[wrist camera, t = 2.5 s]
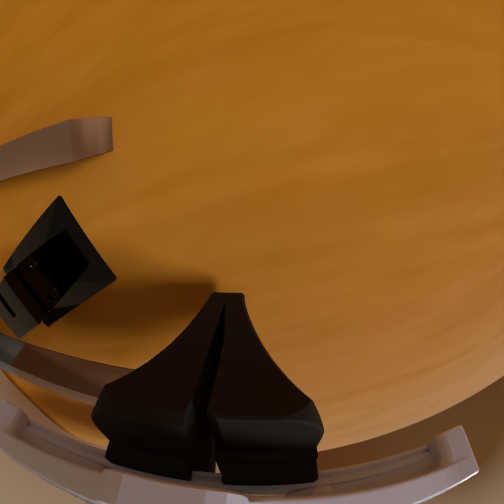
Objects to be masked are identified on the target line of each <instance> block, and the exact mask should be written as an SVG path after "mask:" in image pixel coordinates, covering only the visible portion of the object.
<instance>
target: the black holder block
mask: <svg viewBox="0 0 504 504" xmlns="http://www.w3.org/2000/svg"><path fill="white" fill-rule="evenodd" d="M3 269H4V271H5V273H6V274H7V275H6V276H5V277H4V278H3V280H2V281H1V283H0V316H1V318H2V319H3V320H4V321H5V323H6V324H7V325H8V326H9V328H10V329H11V330H12V331H13V333H14V334H15V335H16V336H17V337H18V339H21V338H22V337H24V336H25V335H26V334H27V333H29V332H30V331H31V330H32V329H34V328H35V327H36V326H38V325H39V324H40V323H41V321H43V323H44V324H45V325H46V326H48V327H49V326H50V325H51V324H53V323H54V322H56V321H57V320H58V319H60V318H61V317H63V316H64V315H65V314H67V313H68V312H70V311H71V310H72V309H74V308H75V307H77V306H78V305H80V304H81V303H83V302H84V301H86V300H87V299H88V298H90V297H91V296H93V295H94V294H96V293H97V292H99V291H100V290H102V289H103V288H105V287H106V286H108V285H109V284H111V283H112V282H114V281H116V276H115V275H114V273H113V272H112V271H111V269H110V268H109V267H108V265H107V264H106V263H105V261H104V260H103V259H102V257H101V256H100V255H99V253H98V252H97V250H96V249H95V248H94V246H93V245H92V243H91V242H90V240H89V239H88V237H87V236H86V235H85V233H84V232H83V230H82V229H81V227H80V225H79V224H78V222H77V221H76V219H75V218H74V216H73V215H72V213H71V211H70V210H69V208H68V207H67V205H66V203H65V202H64V200H63V198H62V197H61V196H58V197H57V198H56V199H55V200H54V201H53V202H52V204H51V205H50V206H49V207H48V208H47V209H46V211H45V212H44V213H43V214H42V215H41V217H40V218H39V219H38V220H37V222H36V223H35V224H34V225H33V227H32V228H31V229H30V231H29V232H28V233H27V234H26V236H25V237H24V238H23V240H22V241H21V243H20V244H19V245H18V247H17V248H16V250H15V251H14V253H13V254H12V255H11V257H10V258H9V260H8V261H7V263H6V265H5V266H4V268H3Z"/></svg>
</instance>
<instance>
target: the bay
mask: <svg viewBox="0 0 504 504" xmlns="http://www.w3.org/2000/svg"><path fill="white" fill-rule="evenodd" d="M112 150H113V143H112V123H111V117H99V118H82V119H70V120H67V121H64V122H60V123H57V124H54V125H51V126H49V127H46V128H43V129H40V130H37V131H35V132H32V133H30V134H27V135H25V136H22V137H20V138H17V139H15V140H13V141H10V142H8V143H6V144H4V145H2V146H0V181H1V180H4V179H7V178H11V177H14V176H17V175H21V174H24V173H28V172H32V171H36V170H39V169H43V168H48V167H52V166H56V165H61V164H65V163H70V162H74V161H77V160H81V159H84V158H87V157H91V156H94V155H97V154H101V153H105V152H108V151H112ZM0 368H2V369H4V370H6V371H8V372H10V373H12V374H14V375H16V376H18V377H20V378H22V379H24V380H26V381H28V382H31V383H33V384H35V385H38V386H40V387H42V388H45V389H47V390H50V391H52V392H55V393H57V394H60V395H63V396H65V397H68V398H71V399H74V400H77V401H80V402H83V403H86V404H90V405H93V406H95V404H96V402H97V399H98V397H99V395H100V393H101V391H102V389H103V388H104V386H105V384H108V383H110V382H112V381H114V380H116V379H119V378H121V377H123V376H125V375H127V374H129V373H130V372H132V371H134V370H131V369H125V368H120V367H115V366H110V365H105V364H100V363H95V362H91V361H87V360H82V359H78V358H74V357H70V356H67V355H63V354H59V353H56V352H52V351H49V350H46V349H43V348H39V347H36V346H33V345H30V344H27V343H24V342H22V341H19V340H16V339H13V338H11V337H8V336H5V335H3V334H0Z"/></svg>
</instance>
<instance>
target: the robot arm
mask: <svg viewBox="0 0 504 504" xmlns="http://www.w3.org/2000/svg"><path fill="white" fill-rule="evenodd" d="M91 418H92V420H93V422H94V424H95V425H96V426H97V427H98V429H99V430H100V431H101V432H102V433H103V434H104V435H105V436H106V437H107V438H108V439H109V440H110V441H109V444H108V447H107V450H106V451H104V450H101V449H98V448H95V447H92V446H89V445H87V444H84V443H81V442H79V441H76V440H74V439H71V438H69V437H67V436H64V435H62V434H60V433H57V432H55V431H53V430H51V429H49V428H47V427H45V426H43V425H41V424H39V423H37V422H35V421H33V420H31V419H30V418H29V417H28V416H27V415H26V413H25V412H24V411H23V410H21V409H20V408H19V407H17V406H16V405H14V404H12V403H11V402H9V401H8V400H6V399H3V401H2V403H1V404H0V450H1V451H2V452H4V453H5V454H6V455H7V456H9V457H10V458H11V459H13V460H14V461H16V462H17V463H18V464H20V465H22V466H23V467H24V468H26V469H27V470H29V471H30V472H32V473H33V474H35V475H37V476H39V477H40V478H42V479H43V480H45V481H47V482H49V483H50V484H52V485H54V486H56V487H58V488H59V489H61V490H63V491H65V492H67V493H69V494H71V495H73V496H75V497H77V498H80V499H82V500H84V501H86V504H420V503H422V502H424V501H427V500H429V499H431V498H433V497H435V496H437V495H439V494H442V493H444V492H445V491H447V490H449V489H451V488H453V487H455V486H456V485H458V484H460V483H462V482H463V481H465V480H467V479H468V478H470V477H471V476H473V475H475V474H476V473H478V471H479V469H478V466H477V463H476V460H475V458H474V455H473V452H472V449H471V447H470V444H469V442H468V439H467V437H466V434H465V432H464V429H463V427H462V425H459V426H457V427H454V428H452V429H450V430H448V431H445V432H443V433H441V434H439V435H437V436H436V437H434V438H433V439H432V440H431V441H430V442H429V443H428V444H427V445H424V446H422V447H419V448H416V449H413V450H410V451H407V452H404V453H401V454H397V455H394V456H390V457H387V458H383V459H379V460H375V461H371V462H367V463H362V464H358V465H353V466H348V467H342V468H336V469H330V470H322V471H318V470H317V463H316V459H317V458H318V453H317V445H318V444H319V442H320V440H321V438H322V437H323V433H324V428H323V424H322V421H321V418H320V415H319V413H318V411H317V408H316V406H315V404H314V402H313V401H312V400H311V399H310V398H309V397H308V396H306V395H305V394H304V393H303V392H302V391H301V390H300V389H299V388H297V387H296V386H295V385H294V384H293V383H292V382H291V381H290V380H289V379H288V377H287V376H286V375H285V374H284V373H283V372H282V370H281V369H280V368H279V367H278V366H277V365H276V363H275V362H274V361H273V359H272V358H271V357H270V355H269V354H268V352H267V351H266V349H265V348H264V346H263V344H262V343H261V341H260V339H259V337H258V335H257V333H256V331H255V329H254V327H253V325H252V322H251V320H250V318H249V315H248V312H247V309H246V305H245V297H244V294H242V293H216V292H214V293H212V294H211V296H210V297H209V299H208V300H207V302H206V303H205V305H204V306H203V308H202V309H201V310H200V312H199V313H198V314H197V315H196V317H195V318H194V319H193V320H192V322H191V323H190V324H189V325H188V326H187V327H186V328H185V330H184V331H183V332H182V333H181V334H180V335H179V336H178V337H177V338H176V339H175V340H174V341H173V342H172V343H171V344H170V345H168V346H167V347H166V348H165V349H164V350H163V351H161V352H160V353H159V354H158V355H156V356H155V357H154V358H152V359H151V360H150V361H148V362H147V363H145V364H144V365H142V366H141V367H139V368H137V369H136V370H134V371H132V372H130V373H129V374H127V375H125V376H123V377H121V378H119V379H116V380H114V381H112V382H110V383H108V384H105V386H104V388H103V389H102V391H101V393H100V395H99V397H98V399H97V402H96V404H95V406H94V409H93V411H92V414H91ZM216 462H217V465H218V468H219V470H220V473H215V466H216ZM243 494H285V497H273V496H272V497H271V496H250V495H243Z"/></svg>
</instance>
